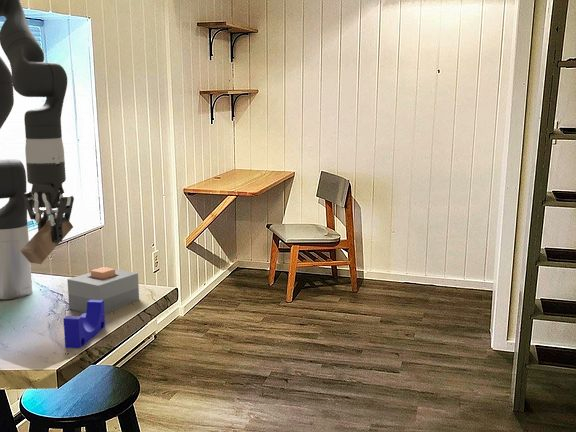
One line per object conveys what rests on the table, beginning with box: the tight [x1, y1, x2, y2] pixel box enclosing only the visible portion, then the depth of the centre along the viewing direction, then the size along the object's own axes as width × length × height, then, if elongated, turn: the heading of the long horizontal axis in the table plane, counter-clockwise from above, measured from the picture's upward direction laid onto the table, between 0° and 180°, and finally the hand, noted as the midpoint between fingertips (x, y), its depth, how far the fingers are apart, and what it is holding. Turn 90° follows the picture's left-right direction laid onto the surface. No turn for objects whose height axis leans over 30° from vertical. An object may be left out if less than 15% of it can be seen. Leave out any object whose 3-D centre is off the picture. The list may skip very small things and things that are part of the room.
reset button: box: [90, 266, 116, 280], centre depth 147 cm, size 4×4×3 cm
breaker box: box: [67, 267, 140, 315], centre depth 148 cm, size 10×12×7 cm
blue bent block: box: [63, 300, 106, 349], centre depth 128 cm, size 12×4×6 cm, turn 173°
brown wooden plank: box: [21, 213, 74, 265], centre depth 135 cm, size 4×4×11 cm
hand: (51, 240), depth 136 cm, fingers closed on brown wooden plank, 3 cm apart
